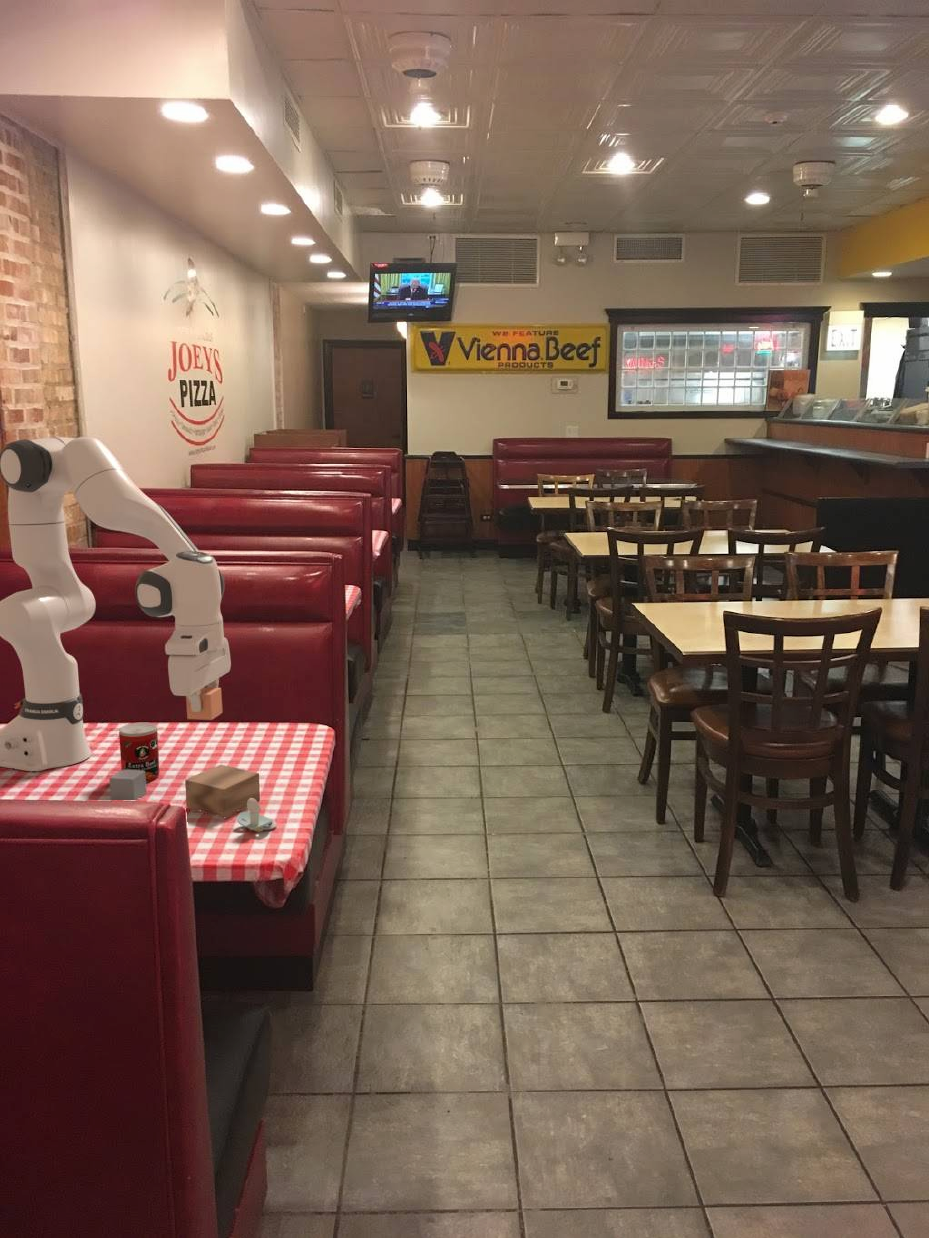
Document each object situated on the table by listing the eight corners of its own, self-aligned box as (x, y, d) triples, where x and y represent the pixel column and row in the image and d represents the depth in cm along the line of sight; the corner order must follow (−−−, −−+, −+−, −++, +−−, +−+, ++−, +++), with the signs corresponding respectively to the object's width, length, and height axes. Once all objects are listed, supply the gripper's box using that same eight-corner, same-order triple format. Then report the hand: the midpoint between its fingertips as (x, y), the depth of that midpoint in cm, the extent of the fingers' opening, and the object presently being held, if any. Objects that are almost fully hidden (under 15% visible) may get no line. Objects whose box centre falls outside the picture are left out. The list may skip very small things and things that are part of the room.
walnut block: (186, 808, 186) (185, 779, 185) (222, 792, 195) (220, 764, 194) (225, 819, 181) (224, 789, 180) (259, 801, 190) (259, 773, 189)
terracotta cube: (187, 718, 183) (185, 693, 182) (198, 711, 187) (196, 687, 186) (212, 719, 182) (210, 694, 181) (222, 712, 187) (221, 687, 186)
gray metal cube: (111, 801, 189) (109, 778, 188) (123, 792, 194) (121, 769, 193) (134, 803, 188) (133, 779, 187) (146, 794, 193) (145, 770, 192)
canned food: (125, 786, 197) (121, 735, 195) (119, 773, 204) (116, 724, 202) (163, 780, 200) (160, 730, 198) (156, 768, 207) (153, 720, 205)
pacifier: (257, 818, 182) (233, 827, 177) (257, 787, 181) (232, 795, 176) (284, 827, 178) (260, 837, 173) (284, 796, 177) (260, 805, 172)
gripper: (207, 625, 192) (211, 691, 195) (160, 647, 172) (165, 720, 175) (236, 626, 191) (240, 692, 194) (193, 648, 171) (197, 721, 174)
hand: (204, 706), depth 184 cm, fingers closed on terracotta cube, 5 cm apart
